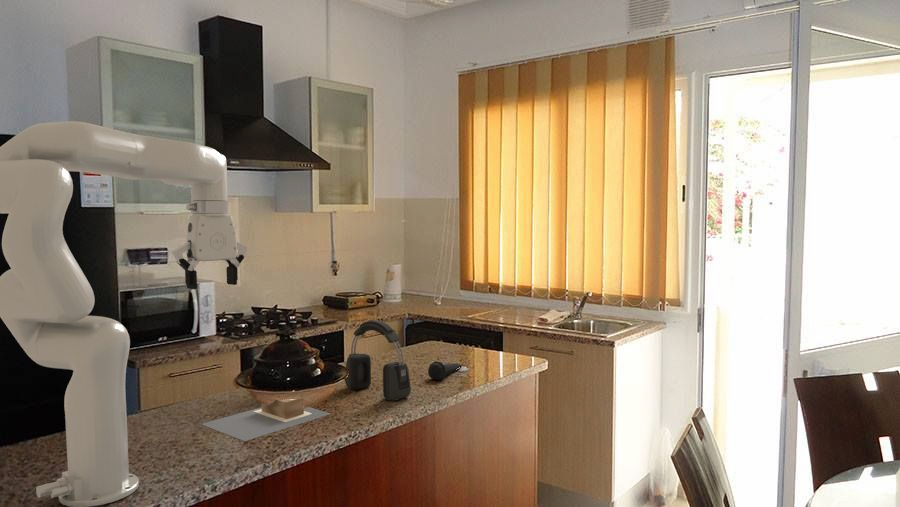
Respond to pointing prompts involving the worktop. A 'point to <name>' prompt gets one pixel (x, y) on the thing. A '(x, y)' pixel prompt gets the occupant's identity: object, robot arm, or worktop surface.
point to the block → (285, 408)
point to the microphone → (441, 370)
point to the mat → (260, 423)
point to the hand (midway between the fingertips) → (212, 286)
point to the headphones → (393, 373)
